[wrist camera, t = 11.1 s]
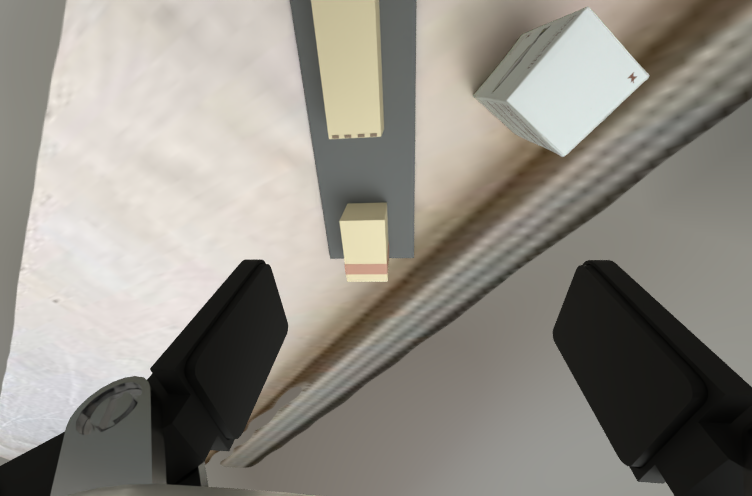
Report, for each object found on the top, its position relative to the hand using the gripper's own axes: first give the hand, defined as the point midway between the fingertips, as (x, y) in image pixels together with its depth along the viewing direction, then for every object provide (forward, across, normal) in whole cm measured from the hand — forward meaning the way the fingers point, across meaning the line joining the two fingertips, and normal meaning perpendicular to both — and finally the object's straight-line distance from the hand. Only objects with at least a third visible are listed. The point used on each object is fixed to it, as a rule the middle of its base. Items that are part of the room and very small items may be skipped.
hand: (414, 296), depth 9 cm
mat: (+31, +6, +2) cm, 31 cm away
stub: (+29, +5, +14) cm, 33 cm away
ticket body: (+31, +6, -7) cm, 32 cm away
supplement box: (+31, -12, -4) cm, 34 cm away
